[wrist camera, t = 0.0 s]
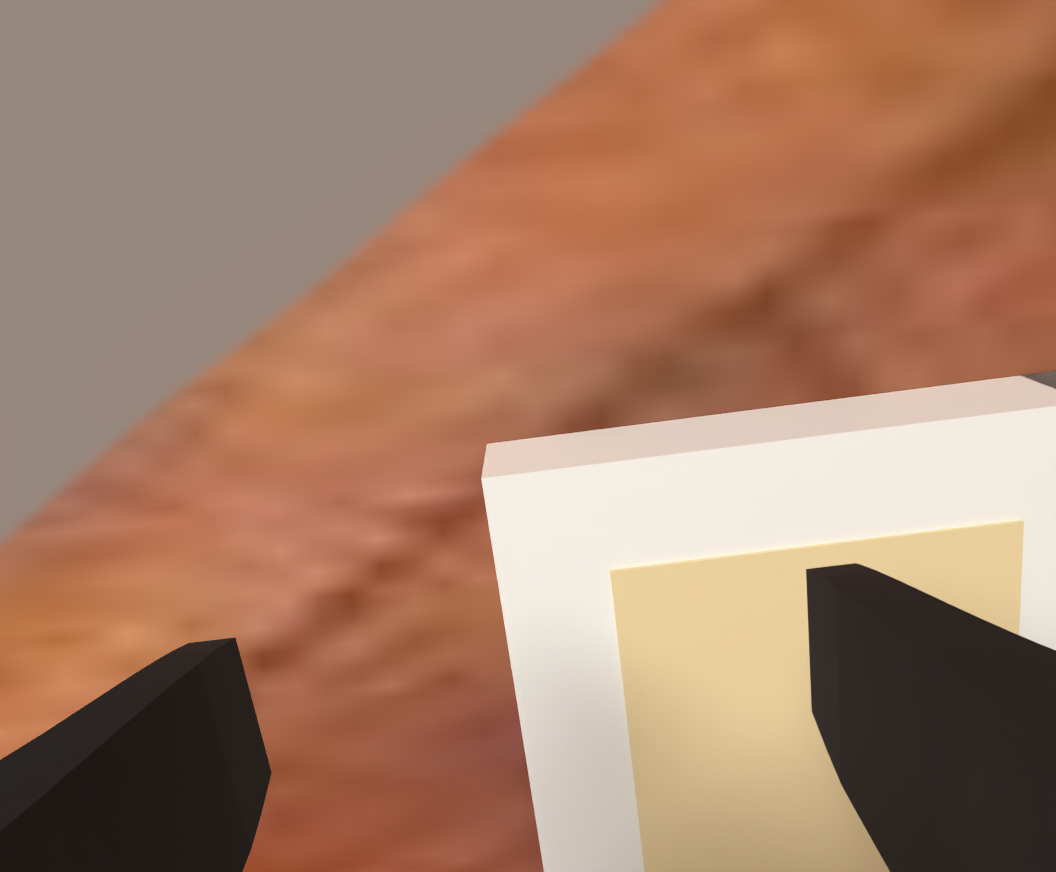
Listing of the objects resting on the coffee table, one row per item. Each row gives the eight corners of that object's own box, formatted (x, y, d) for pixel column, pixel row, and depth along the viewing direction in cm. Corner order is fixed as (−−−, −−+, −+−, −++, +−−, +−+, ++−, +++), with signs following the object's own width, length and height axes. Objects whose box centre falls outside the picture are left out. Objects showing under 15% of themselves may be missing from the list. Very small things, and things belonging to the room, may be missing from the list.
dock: (1035, 1003, 25) (1091, 1093, 23) (581, 1048, 26) (586, 1140, 23) (1072, 369, 19) (1151, 395, 17) (486, 443, 20) (481, 480, 17)
